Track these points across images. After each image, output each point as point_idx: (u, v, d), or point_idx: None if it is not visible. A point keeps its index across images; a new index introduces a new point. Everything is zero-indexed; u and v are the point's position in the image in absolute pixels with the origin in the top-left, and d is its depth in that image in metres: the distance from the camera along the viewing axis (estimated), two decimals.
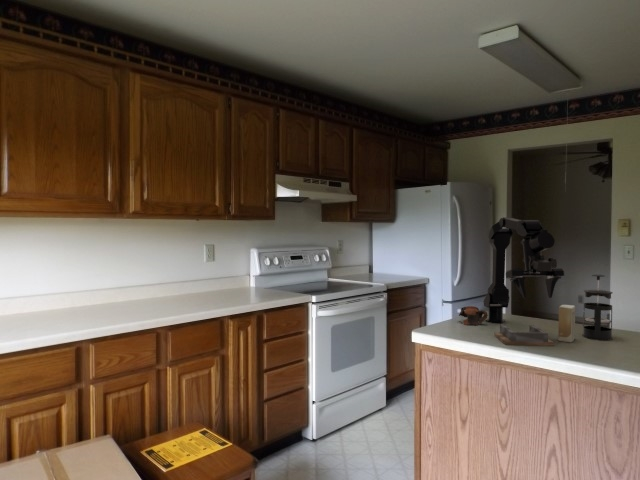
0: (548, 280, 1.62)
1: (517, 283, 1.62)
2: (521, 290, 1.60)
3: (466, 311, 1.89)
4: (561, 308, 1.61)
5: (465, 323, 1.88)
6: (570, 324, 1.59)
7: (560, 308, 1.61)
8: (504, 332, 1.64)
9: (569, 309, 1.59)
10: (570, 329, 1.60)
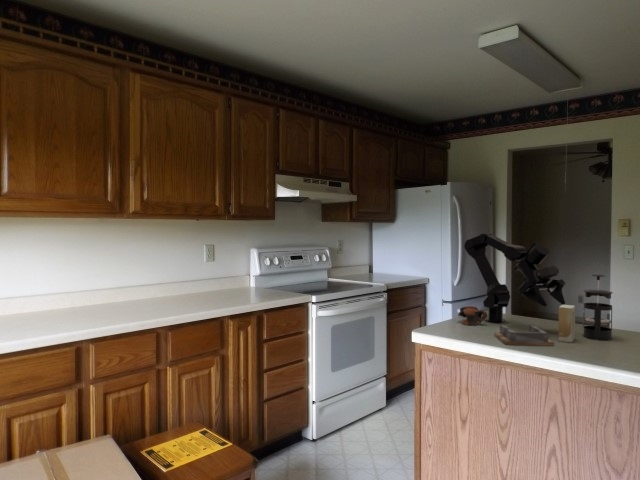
0: (554, 291, 1.74)
1: (532, 296, 1.69)
2: (540, 299, 1.67)
3: (465, 311, 1.89)
4: (561, 308, 1.61)
5: (464, 323, 1.88)
6: (570, 324, 1.59)
7: (560, 308, 1.61)
8: (504, 332, 1.64)
9: (569, 309, 1.59)
10: (570, 329, 1.60)
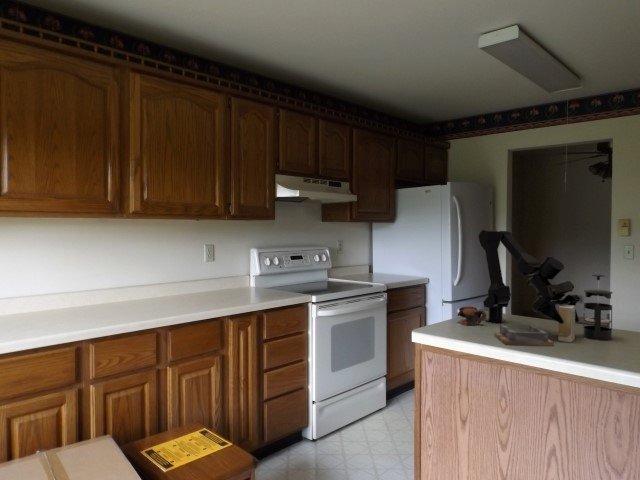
0: None
1: (548, 312, 1.64)
2: (556, 316, 1.61)
3: (465, 311, 1.89)
4: (561, 308, 1.61)
5: (464, 323, 1.87)
6: (570, 324, 1.59)
7: (560, 308, 1.61)
8: (504, 332, 1.64)
9: (569, 309, 1.59)
10: (570, 329, 1.60)
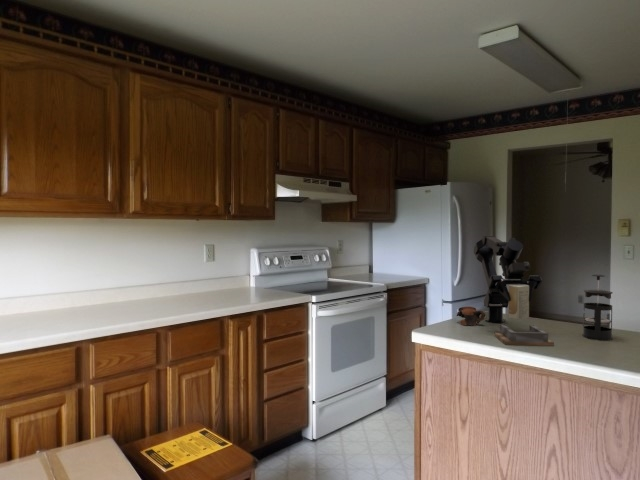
0: None
1: (501, 290, 1.73)
2: (505, 294, 1.70)
3: (464, 311, 1.89)
4: (510, 286, 1.69)
5: (463, 323, 1.87)
6: (516, 302, 1.67)
7: (509, 286, 1.70)
8: (504, 332, 1.64)
9: (515, 287, 1.67)
10: (516, 307, 1.67)
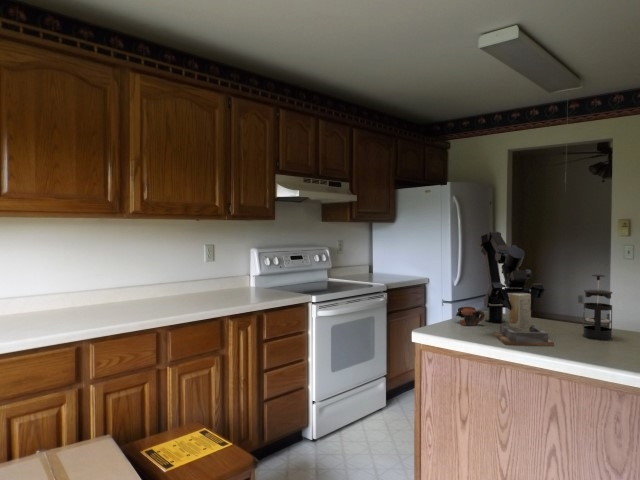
0: None
1: (502, 299, 1.68)
2: (506, 303, 1.66)
3: (463, 311, 1.88)
4: (511, 295, 1.65)
5: (462, 323, 1.87)
6: (517, 311, 1.62)
7: (510, 295, 1.65)
8: (504, 332, 1.64)
9: (516, 296, 1.62)
10: (517, 316, 1.62)
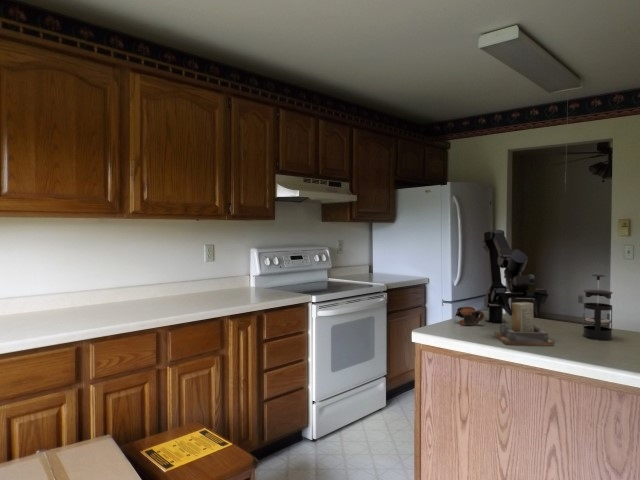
0: (534, 302, 1.65)
1: (503, 304, 1.65)
2: (506, 308, 1.63)
3: (462, 311, 1.88)
4: (513, 304, 1.62)
5: (461, 324, 1.87)
6: (519, 320, 1.59)
7: (512, 304, 1.62)
8: (504, 332, 1.64)
9: (518, 305, 1.60)
10: (520, 325, 1.59)
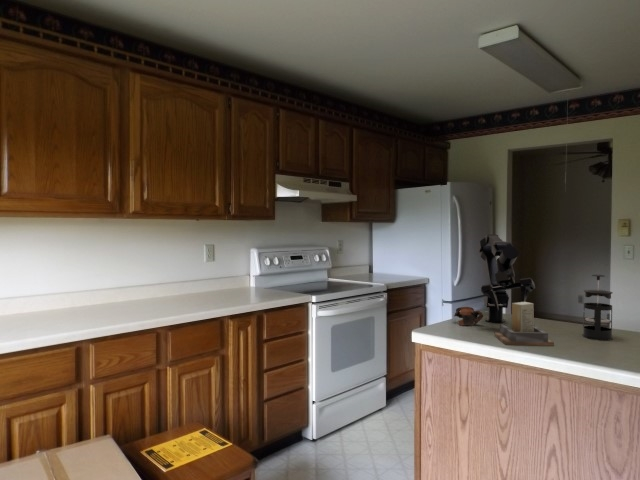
0: None
1: None
2: (494, 303, 1.76)
3: (461, 312, 1.88)
4: (513, 304, 1.62)
5: (460, 324, 1.87)
6: (520, 321, 1.59)
7: (513, 304, 1.62)
8: (504, 332, 1.64)
9: (519, 305, 1.59)
10: (520, 325, 1.59)
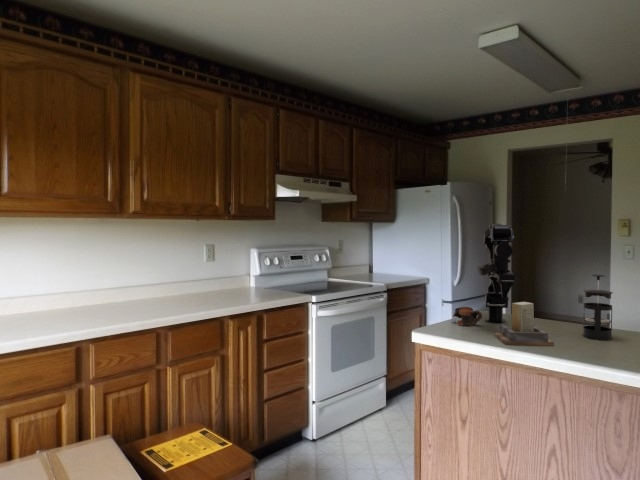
0: None
1: None
2: None
3: (460, 312, 1.88)
4: (513, 304, 1.62)
5: (459, 324, 1.86)
6: (520, 321, 1.59)
7: (513, 304, 1.62)
8: (504, 332, 1.64)
9: (519, 305, 1.59)
10: (520, 325, 1.59)
